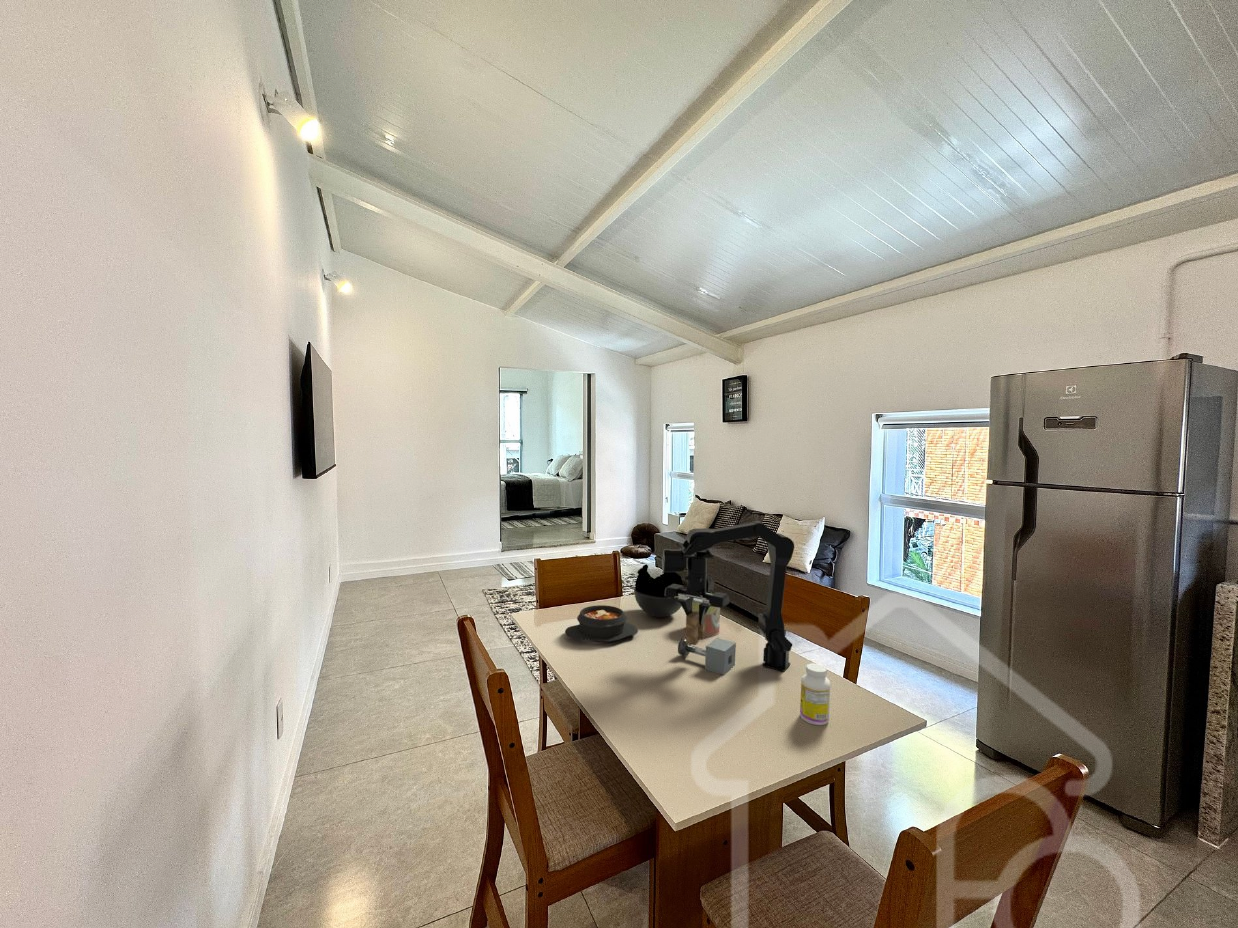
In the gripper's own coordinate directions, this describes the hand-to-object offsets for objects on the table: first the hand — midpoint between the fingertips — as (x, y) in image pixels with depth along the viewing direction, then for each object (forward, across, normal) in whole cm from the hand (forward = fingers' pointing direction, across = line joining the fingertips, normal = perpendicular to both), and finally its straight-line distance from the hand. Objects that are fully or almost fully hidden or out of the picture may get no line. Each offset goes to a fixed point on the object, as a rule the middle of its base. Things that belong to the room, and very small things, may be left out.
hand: (695, 623), depth 151 cm
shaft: (+12, 0, -3) cm, 13 cm away
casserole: (+12, +35, -1) cm, 38 cm away
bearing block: (+13, -7, -3) cm, 15 cm away
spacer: (+5, 0, 0) cm, 5 cm away
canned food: (+13, +10, -27) cm, 32 cm away
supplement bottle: (+13, -36, +10) cm, 40 cm away
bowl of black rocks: (+13, +30, -31) cm, 45 cm away
